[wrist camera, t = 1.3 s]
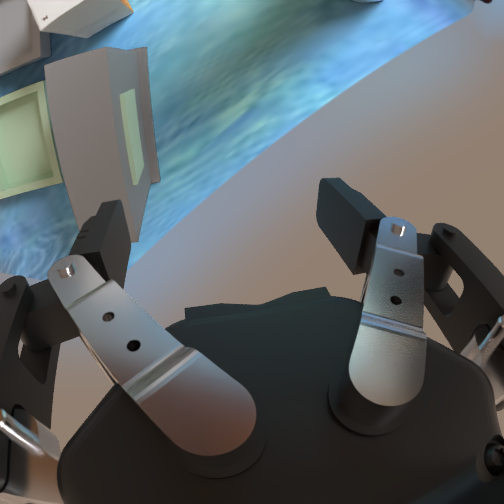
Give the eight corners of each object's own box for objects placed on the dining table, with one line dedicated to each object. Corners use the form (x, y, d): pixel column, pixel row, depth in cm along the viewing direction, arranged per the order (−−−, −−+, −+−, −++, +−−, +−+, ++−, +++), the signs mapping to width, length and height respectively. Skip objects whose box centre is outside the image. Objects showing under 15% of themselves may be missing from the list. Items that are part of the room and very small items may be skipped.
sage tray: (53, 78, 25) (43, 80, 23) (70, 173, 33) (62, 182, 31) (-12, 104, 24) (-24, 109, 21) (8, 190, 31) (-2, 199, 29)
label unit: (146, 47, 27) (120, 37, 15) (160, 179, 37) (150, 245, 25) (89, 59, 25) (32, 63, 14) (108, 187, 36) (77, 255, 24)
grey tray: (51, -32, 16) (42, -37, 13) (51, 55, 24) (40, 56, 21) (-17, 2, 14) (-28, 1, 12) (-15, 84, 22) (-27, 88, 19)
